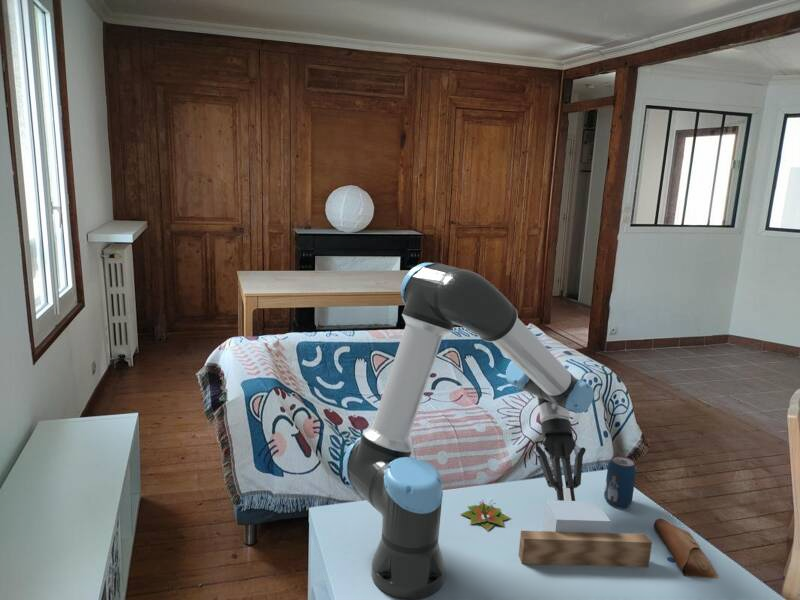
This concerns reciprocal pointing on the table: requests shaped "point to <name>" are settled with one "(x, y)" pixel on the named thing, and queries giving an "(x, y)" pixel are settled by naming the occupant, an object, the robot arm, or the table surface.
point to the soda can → (620, 482)
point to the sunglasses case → (684, 550)
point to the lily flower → (485, 510)
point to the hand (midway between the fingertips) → (568, 517)
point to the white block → (575, 517)
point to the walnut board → (584, 548)
